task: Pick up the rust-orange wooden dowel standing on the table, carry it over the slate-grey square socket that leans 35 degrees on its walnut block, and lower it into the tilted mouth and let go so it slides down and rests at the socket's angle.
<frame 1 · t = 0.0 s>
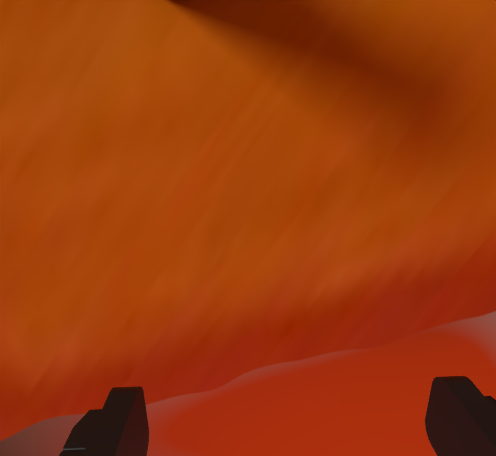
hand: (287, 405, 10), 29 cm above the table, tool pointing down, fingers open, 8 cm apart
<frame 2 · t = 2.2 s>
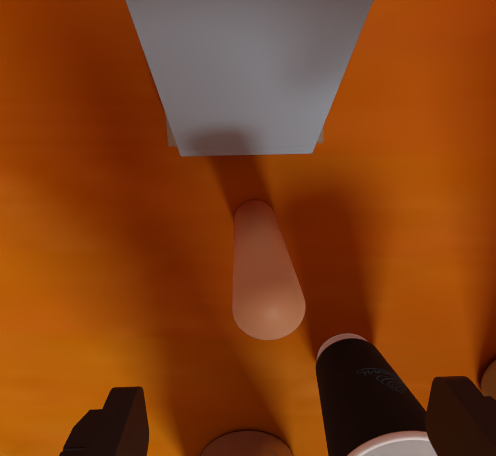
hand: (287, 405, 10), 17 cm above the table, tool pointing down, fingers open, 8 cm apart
dowel: (254, 219, 26), on the table
dixie cup: (343, 355, 30), on the table
socket: (243, 91, 23), on the table
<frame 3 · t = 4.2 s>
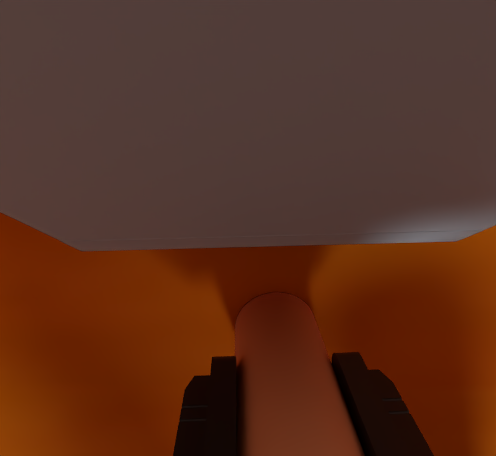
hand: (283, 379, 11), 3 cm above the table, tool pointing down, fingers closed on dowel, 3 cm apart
dowel: (275, 327, 13), on the table, touching gripper
socket: (256, 73, 10), on the table
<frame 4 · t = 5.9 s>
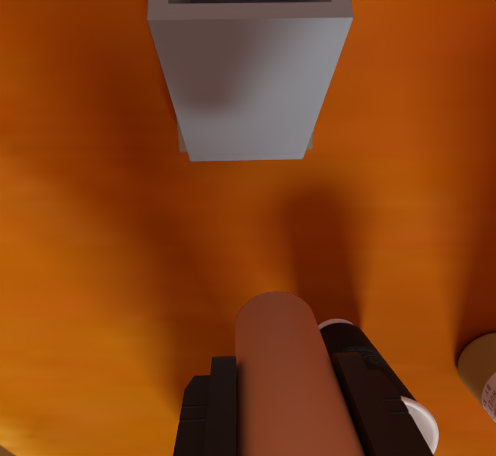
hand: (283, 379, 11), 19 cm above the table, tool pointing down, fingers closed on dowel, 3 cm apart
dowel: (275, 326, 13), point 17 cm above the table, touching gripper
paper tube: (487, 356, 35), on the table
dixie cup: (334, 338, 34), on the table
socket: (244, 104, 26), on the table
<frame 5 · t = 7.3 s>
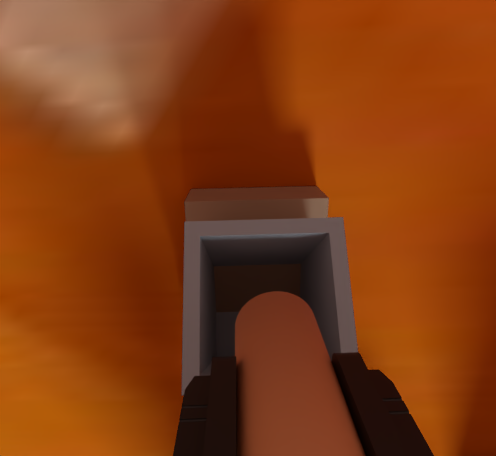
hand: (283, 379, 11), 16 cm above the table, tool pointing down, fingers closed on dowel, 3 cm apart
dowel: (275, 326, 13), point 14 cm above the table, touching gripper
socket: (255, 286, 28), on the table
when the fingers open (14 cm above the table, at t = 7.9 s): dowel drops 7 cm and tips over, resting on socket.
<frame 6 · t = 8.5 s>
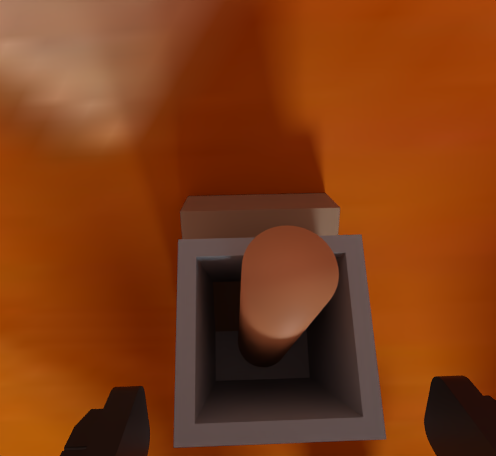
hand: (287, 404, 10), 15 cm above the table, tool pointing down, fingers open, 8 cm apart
dowel: (262, 340, 22), point 5 cm above the table, tilted 47°, touching socket
socket: (257, 301, 26), on the table
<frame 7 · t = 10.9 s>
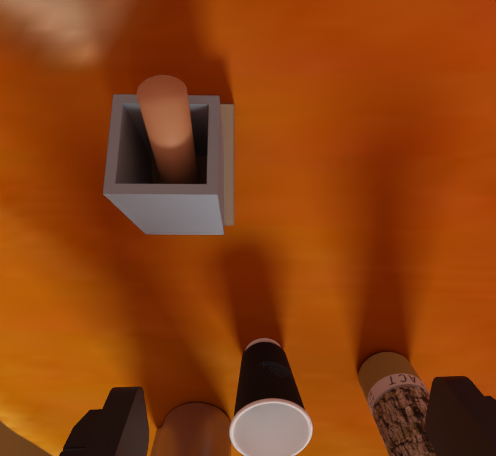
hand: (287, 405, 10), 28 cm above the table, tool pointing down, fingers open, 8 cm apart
dowel: (184, 197, 32), point 5 cm above the table, tilted 47°, touching socket
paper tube: (382, 369, 45), on the table
dixie cup: (263, 352, 44), on the table
socket: (190, 185, 36), on the table
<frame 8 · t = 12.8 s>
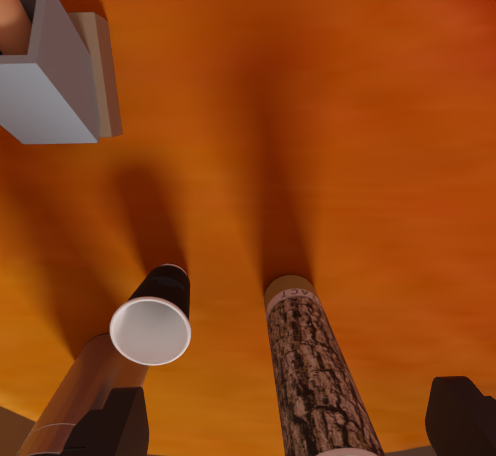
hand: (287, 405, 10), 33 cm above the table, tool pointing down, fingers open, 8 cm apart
dowel: (55, 106, 34), point 5 cm above the table, tilted 47°, touching socket
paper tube: (289, 294, 47), on the table
dixie cup: (170, 279, 45), on the table
socket: (76, 106, 38), on the table
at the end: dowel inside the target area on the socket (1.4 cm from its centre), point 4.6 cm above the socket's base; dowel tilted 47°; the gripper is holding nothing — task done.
